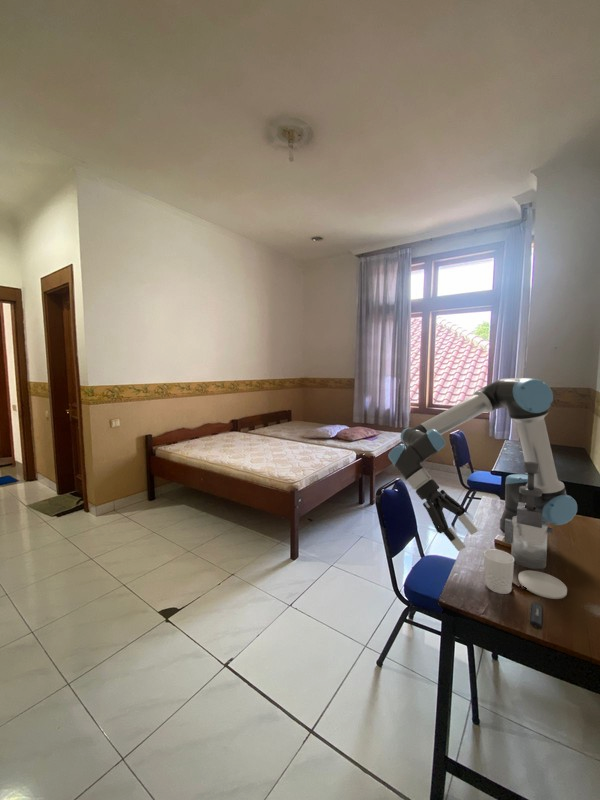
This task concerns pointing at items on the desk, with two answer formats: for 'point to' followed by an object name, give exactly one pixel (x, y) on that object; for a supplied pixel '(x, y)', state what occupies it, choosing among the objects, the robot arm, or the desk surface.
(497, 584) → the white cup
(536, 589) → the saucer
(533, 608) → the usb stick
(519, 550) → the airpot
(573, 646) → the desk surface
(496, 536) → the desk surface
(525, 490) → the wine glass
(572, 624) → the desk surface
